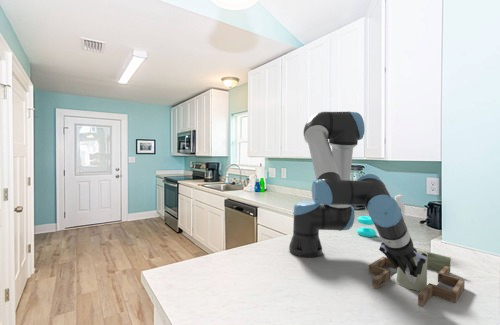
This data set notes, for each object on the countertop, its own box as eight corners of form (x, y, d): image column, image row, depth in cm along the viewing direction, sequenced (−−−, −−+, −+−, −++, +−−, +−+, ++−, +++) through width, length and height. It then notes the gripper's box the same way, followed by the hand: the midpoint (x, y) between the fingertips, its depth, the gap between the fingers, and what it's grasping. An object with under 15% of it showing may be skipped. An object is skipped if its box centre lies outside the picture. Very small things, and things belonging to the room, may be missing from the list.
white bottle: (401, 246, 127) (402, 197, 127) (387, 243, 132) (388, 195, 131) (406, 242, 133) (407, 195, 133) (392, 239, 138) (394, 194, 138)
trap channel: (447, 316, 71) (448, 295, 71) (356, 280, 91) (356, 264, 91) (470, 278, 94) (471, 262, 94) (393, 256, 114) (393, 243, 114)
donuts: (366, 220, 140) (353, 216, 150) (366, 238, 140) (353, 233, 150) (380, 219, 143) (367, 215, 153) (380, 236, 144) (366, 231, 153)
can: (433, 292, 84) (434, 256, 84) (403, 289, 86) (404, 254, 85) (418, 278, 93) (419, 246, 93) (392, 276, 95) (392, 244, 94)
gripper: (368, 242, 77) (388, 281, 88) (418, 255, 67) (434, 297, 78) (376, 222, 81) (395, 262, 92) (425, 232, 71) (439, 276, 82)
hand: (413, 278), depth 85 cm, fingers closed
